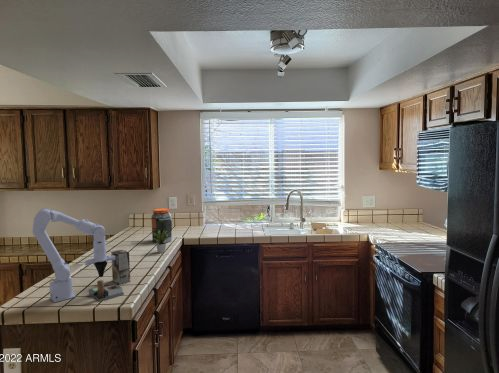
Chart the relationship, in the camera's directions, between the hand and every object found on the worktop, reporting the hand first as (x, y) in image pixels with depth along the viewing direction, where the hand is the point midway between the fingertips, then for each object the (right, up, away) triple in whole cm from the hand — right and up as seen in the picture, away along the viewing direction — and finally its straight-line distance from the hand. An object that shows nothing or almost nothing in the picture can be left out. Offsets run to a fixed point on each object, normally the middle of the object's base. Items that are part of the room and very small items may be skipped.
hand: (101, 276), depth 183 cm
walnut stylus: (+3, -8, -8) cm, 12 cm away
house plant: (+12, -2, +76) cm, 77 cm away
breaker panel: (+4, -8, -3) cm, 9 cm away
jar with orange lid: (+4, +1, +111) cm, 112 cm away
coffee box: (+4, -7, +17) cm, 19 cm away
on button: (-1, -7, -3) cm, 8 cm away
